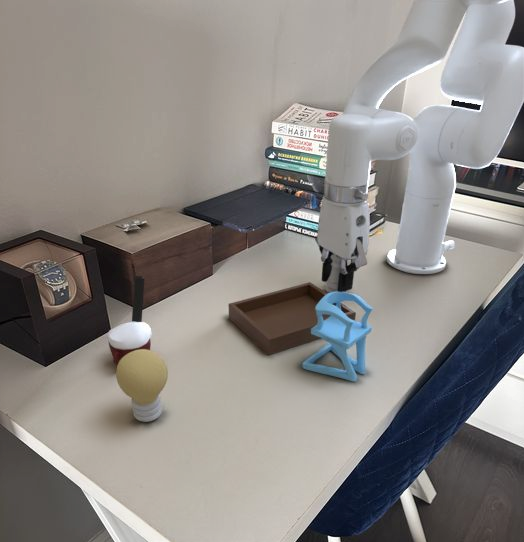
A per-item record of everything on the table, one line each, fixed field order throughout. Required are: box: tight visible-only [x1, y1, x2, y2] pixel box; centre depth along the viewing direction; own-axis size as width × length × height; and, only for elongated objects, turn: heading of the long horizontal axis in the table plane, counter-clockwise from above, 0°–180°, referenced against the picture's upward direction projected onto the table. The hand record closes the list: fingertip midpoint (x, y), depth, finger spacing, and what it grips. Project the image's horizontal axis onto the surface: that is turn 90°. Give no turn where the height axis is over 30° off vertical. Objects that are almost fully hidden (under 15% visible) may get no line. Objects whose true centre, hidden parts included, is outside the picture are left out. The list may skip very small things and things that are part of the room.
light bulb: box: [115, 349, 169, 423], centre depth 66 cm, size 6×6×10 cm
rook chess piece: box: [324, 253, 347, 294], centre depth 98 cm, size 4×4×8 cm
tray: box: [228, 281, 357, 356], centre depth 89 cm, size 18×14×3 cm
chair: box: [302, 291, 374, 383], centre depth 75 cm, size 8×8×12 cm
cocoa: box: [106, 275, 153, 366], centre depth 77 cm, size 10×6×12 cm, turn 140°
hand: (336, 284), depth 100 cm, fingers closed on rook chess piece, 4 cm apart
